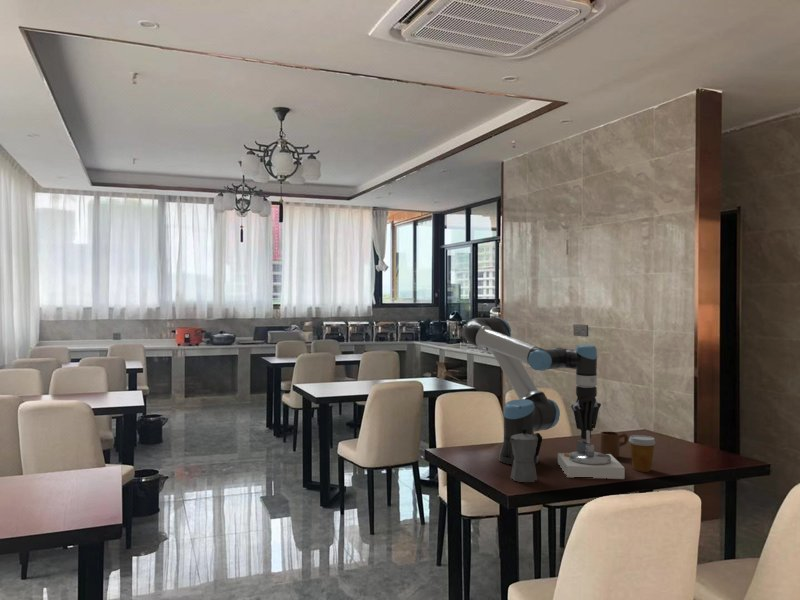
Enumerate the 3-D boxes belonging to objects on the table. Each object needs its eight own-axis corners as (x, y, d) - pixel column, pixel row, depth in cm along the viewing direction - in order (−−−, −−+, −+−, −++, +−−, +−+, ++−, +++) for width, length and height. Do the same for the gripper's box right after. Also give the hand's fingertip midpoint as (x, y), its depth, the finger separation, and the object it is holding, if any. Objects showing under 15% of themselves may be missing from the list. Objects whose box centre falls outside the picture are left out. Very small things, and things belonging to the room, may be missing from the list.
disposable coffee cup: (659, 469, 241) (660, 437, 241) (648, 474, 234) (648, 441, 234) (635, 464, 247) (635, 433, 247) (623, 469, 241) (624, 437, 241)
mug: (622, 453, 266) (622, 430, 266) (633, 457, 259) (633, 434, 259) (596, 454, 263) (596, 431, 263) (606, 459, 256) (606, 435, 256)
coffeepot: (519, 485, 218) (520, 433, 218) (500, 479, 226) (501, 428, 226) (551, 479, 227) (551, 428, 227) (531, 472, 235) (532, 423, 235)
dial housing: (567, 477, 229) (567, 462, 229) (557, 462, 249) (557, 449, 249) (624, 479, 228) (624, 464, 228) (610, 464, 247) (610, 451, 247)
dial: (619, 463, 233) (619, 448, 233) (581, 465, 229) (581, 450, 229) (596, 453, 248) (596, 439, 248) (560, 455, 245) (560, 440, 245)
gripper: (580, 388, 238) (579, 451, 239) (606, 386, 243) (605, 447, 244) (566, 385, 244) (566, 447, 245) (592, 383, 250) (591, 443, 251)
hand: (585, 447), depth 245 cm, fingers closed
